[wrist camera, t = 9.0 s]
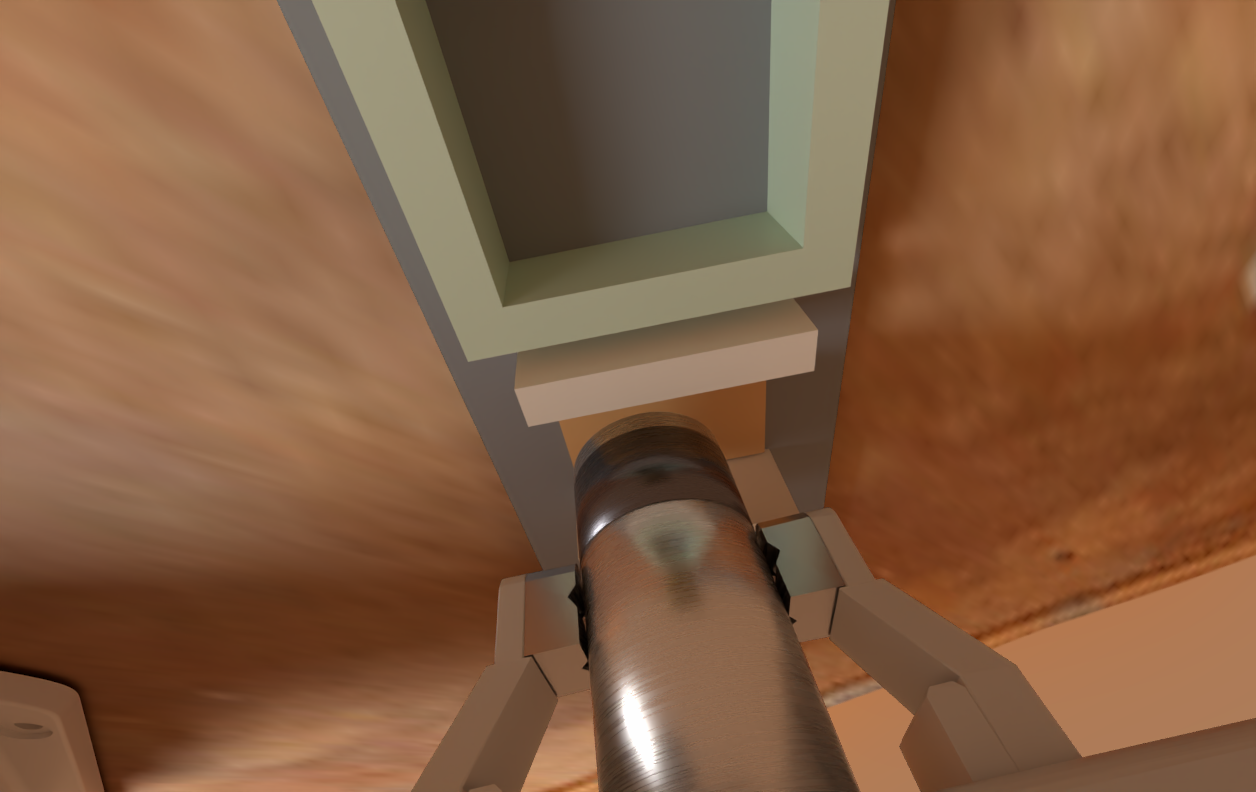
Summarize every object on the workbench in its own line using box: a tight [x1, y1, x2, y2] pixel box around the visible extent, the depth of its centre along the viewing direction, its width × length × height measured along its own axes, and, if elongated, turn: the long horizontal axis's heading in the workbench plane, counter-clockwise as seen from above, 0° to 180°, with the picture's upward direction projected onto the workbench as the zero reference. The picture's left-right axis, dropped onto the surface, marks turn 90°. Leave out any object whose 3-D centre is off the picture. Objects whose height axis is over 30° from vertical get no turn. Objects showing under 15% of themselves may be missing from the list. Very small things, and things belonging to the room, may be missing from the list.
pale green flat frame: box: [312, 0, 889, 362], centre depth 8 cm, size 8×8×2 cm
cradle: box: [514, 298, 818, 562], centre depth 13 cm, size 7×6×2 cm
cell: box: [574, 412, 860, 792], centre depth 10 cm, size 4×4×8 cm
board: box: [277, 0, 896, 581], centre depth 14 cm, size 22×10×1 cm, turn 9°
